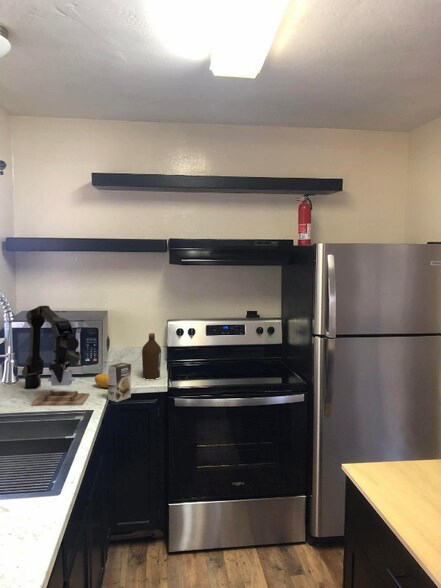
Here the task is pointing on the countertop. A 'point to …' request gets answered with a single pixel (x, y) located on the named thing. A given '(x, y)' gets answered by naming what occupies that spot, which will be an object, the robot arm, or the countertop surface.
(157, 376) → the olive oil
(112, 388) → the coffee box
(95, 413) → the countertop surface
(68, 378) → the block
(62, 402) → the brown wooden board
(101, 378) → the potato
